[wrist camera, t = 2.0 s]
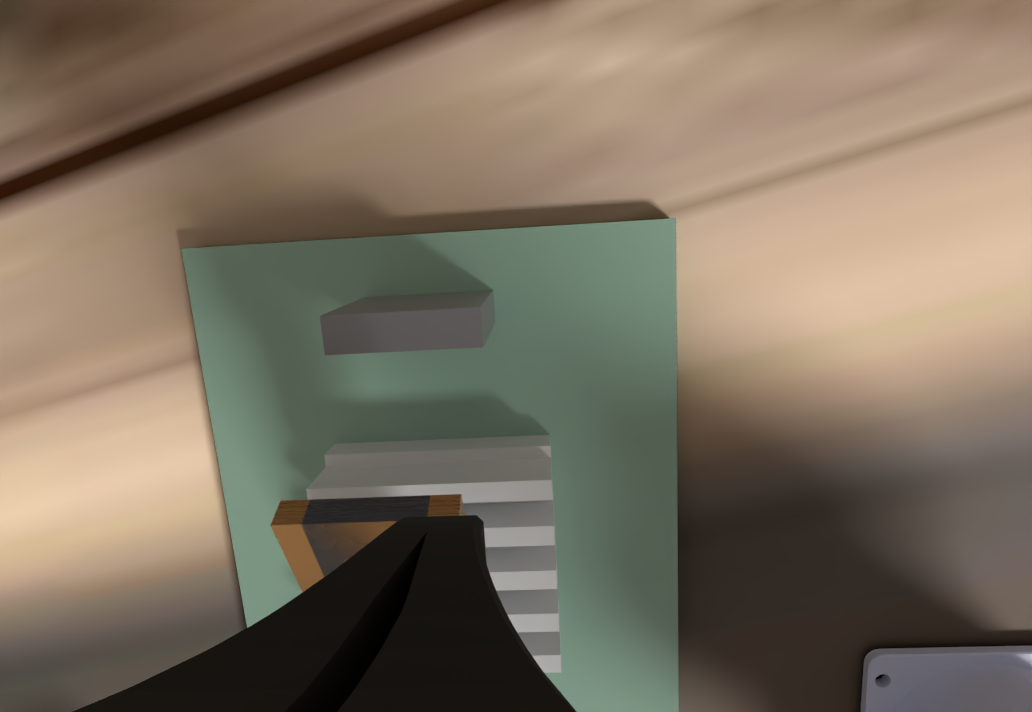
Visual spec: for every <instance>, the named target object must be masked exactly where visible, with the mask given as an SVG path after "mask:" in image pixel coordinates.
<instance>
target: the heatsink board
mask: <svg viewBox="0 0 1032 712" xmlns="http://www.w3.org/2000/svg"><path fill="white" fill-rule="evenodd" d="M181 251H182V256H183V262H184V268H185V274H186V279H187V285H188V291H189V297H190V302H191V308H192V314H193V320H194V325H195V331H196V337H197V343H198V348H199V354H200V360H201V366H202V371H203V377H204V383H205V389H206V394H207V400H208V406H209V412H210V417H211V423H212V429H213V435H214V440H215V446H216V452H217V458H218V463H219V469H220V475H221V480H222V486H223V492H224V498H225V503H226V509H227V515H228V521H229V526H230V532H231V538H232V544H233V549H234V555H235V561H236V567H237V572H238V578H239V584H240V590H241V595H242V601H243V607H244V613H245V618H246V624H247V628H248V627H250V626H252V625H253V624H255V623H256V622H258V621H260V620H261V619H263V618H265V617H266V616H268V615H270V614H271V613H273V612H274V611H276V610H277V609H279V608H281V607H282V606H284V605H285V604H286V603H288V602H289V601H291V600H292V599H294V598H295V597H296V596H298V595H299V594H301V593H302V590H301V588H300V586H299V584H298V582H297V580H296V577H295V575H294V573H293V571H292V569H291V567H290V565H289V563H288V561H287V559H286V557H285V555H284V553H283V551H282V549H281V547H280V544H279V542H278V540H277V538H276V536H275V534H274V532H273V530H272V528H271V526H270V525H271V522H272V520H273V518H274V515H275V513H276V510H277V508H278V506H279V503H280V501H284V500H311V499H339V498H366V497H394V496H421V495H449V494H461V495H462V500H463V505H464V511H465V515H477V516H478V517H479V518H480V519H481V520H482V521H483V522H484V535H485V549H486V564H487V567H488V570H489V573H490V576H491V579H492V582H493V584H494V587H495V589H496V591H497V594H498V596H499V598H500V600H501V602H502V605H503V607H504V609H505V611H506V613H507V615H508V617H509V619H510V621H511V623H512V624H513V626H514V628H515V630H516V631H517V633H518V635H519V636H520V638H521V640H522V641H523V643H524V644H525V646H526V648H527V649H528V651H529V652H530V653H531V655H532V656H533V658H534V659H535V661H536V662H537V664H538V665H539V666H540V668H541V669H542V671H543V672H544V673H545V674H546V676H547V677H548V678H549V679H550V680H551V682H552V683H553V684H554V685H555V686H556V688H557V689H558V690H559V691H560V692H561V693H562V695H563V696H564V697H565V698H566V699H567V701H568V702H569V703H570V704H571V705H572V707H573V708H574V709H575V710H576V711H577V712H679V696H678V509H677V321H676V218H668V219H652V220H636V221H620V222H603V223H587V224H571V225H555V226H539V227H522V228H506V229H490V230H474V231H458V232H441V233H425V234H409V235H393V236H377V237H360V238H344V239H328V240H312V241H295V242H279V243H263V244H247V245H231V246H214V247H198V248H185V249H181Z"/></svg>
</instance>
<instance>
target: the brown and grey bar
mask: <svg viewBox="0 0 1032 712" xmlns="http://www.w3.org/2000/svg"><path fill="white" fill-rule="evenodd" d="M463 515H465V511H464V505H463V500H462V495H461V494H449V495H421V496H394V497H366V498H339V499H311V500H284V501H280V503H279V506H278V508H277V510H276V513H275V515H274V518H273V520H272V522H271V525H270V526H271V528H272V530H273V532H274V534H275V536H276V538H277V540H278V542H279V544H280V547H281V549H282V551H283V553H284V555H285V557H286V559H287V561H288V563H289V565H290V567H291V569H292V571H293V573H294V575H295V577H296V580H297V582H298V584H299V586H300V588H301V590H302V592H304V591H305V590H307V589H308V588H309V587H311V586H312V585H314V584H315V583H317V582H318V581H319V580H321V579H322V578H324V577H325V576H327V575H328V574H329V573H331V572H332V571H334V570H335V569H336V568H337V567H339V566H340V565H341V564H343V563H344V562H345V561H347V560H348V559H349V558H350V557H352V556H353V555H354V554H356V553H357V552H358V551H360V550H361V549H362V548H363V547H365V546H366V545H367V544H368V543H370V542H371V541H372V540H374V539H375V538H376V537H377V536H379V535H380V534H381V533H382V532H384V531H385V530H386V529H388V528H389V527H390V526H392V525H393V524H394V523H396V522H397V521H399V520H400V519H402V518H404V517H429V516H463Z"/></svg>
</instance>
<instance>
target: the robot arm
mask: <svg viewBox="0 0 1032 712" xmlns="http://www.w3.org/2000/svg"><path fill="white" fill-rule="evenodd" d="M882 674H884V676H883V677H882V678H880V679H876V678H877V677H878V676H879V675H882ZM73 712H577V711H576V710H575V709H574V708H573V707H572V705H571V704H570V703H569V702H568V701H567V699H566V698H565V697H564V696H563V695H562V693H561V692H560V691H559V690H558V689H557V688H556V686H555V685H554V684H553V683H552V682H551V680H550V679H549V678H548V677H547V676H546V674H545V673H544V672H543V671H542V669H541V668H540V666H539V665H538V664H537V662H536V661H535V659H534V658H533V656H532V655H531V653H530V652H529V651H528V649H527V648H526V646H525V644H524V643H523V641H522V640H521V638H520V636H519V635H518V633H517V631H516V630H515V628H514V626H513V624H512V623H511V621H510V619H509V617H508V615H507V613H506V611H505V609H504V607H503V605H502V602H501V600H500V598H499V596H498V594H497V591H496V589H495V587H494V584H493V582H492V579H491V576H490V573H489V570H488V567H487V564H486V549H485V535H484V522H483V521H482V520H481V519H480V518H479V517H478V516H477V515H463V516H429V517H404V518H402V519H400V520H399V521H397V522H396V523H394V524H393V525H392V526H390V527H389V528H388V529H386V530H385V531H384V532H382V533H381V534H380V535H379V536H377V537H376V538H375V539H374V540H372V541H371V542H370V543H368V544H367V545H366V546H365V547H363V548H362V549H361V550H360V551H358V552H357V553H356V554H354V555H353V556H352V557H350V558H349V559H348V560H347V561H345V562H344V563H343V564H341V565H340V566H339V567H337V568H336V569H335V570H334V571H332V572H331V573H329V574H328V575H327V576H325V577H324V578H322V579H321V580H319V581H318V582H317V583H315V584H314V585H312V586H311V587H309V588H308V589H307V590H305V591H304V592H302V593H301V594H299V595H298V596H296V597H295V598H294V599H292V600H291V601H289V602H288V603H286V604H285V605H284V606H282V607H281V608H279V609H277V610H276V611H274V612H273V613H271V614H270V615H268V616H266V617H265V618H263V619H261V620H260V621H258V622H256V623H255V624H253V625H252V626H250V627H248V628H246V629H244V630H243V631H241V632H239V633H237V634H236V635H234V636H232V637H230V638H229V639H227V640H225V641H223V642H222V643H220V644H218V645H216V646H214V647H212V648H211V649H209V650H207V651H205V652H203V653H201V654H199V655H197V656H195V657H193V658H190V659H188V660H186V661H184V662H182V663H180V664H178V665H176V666H174V667H172V668H170V669H168V670H166V671H164V672H161V673H159V674H157V675H155V676H153V677H151V678H149V679H147V680H145V681H143V682H141V683H139V684H137V685H135V686H132V687H130V688H128V689H125V690H123V691H121V692H119V693H116V694H114V695H111V696H109V697H107V698H104V699H102V700H99V701H97V702H95V703H92V704H90V705H88V706H85V707H83V708H80V709H78V710H75V711H73ZM860 712H1032V646H984V647H935V648H887V649H875V650H872V651H871V652H869V653H868V654H867V655H866V656H865V659H864V667H863V681H862V696H861V711H860Z"/></svg>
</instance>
